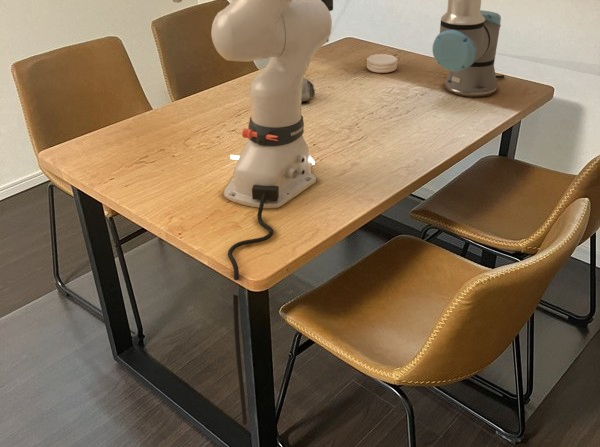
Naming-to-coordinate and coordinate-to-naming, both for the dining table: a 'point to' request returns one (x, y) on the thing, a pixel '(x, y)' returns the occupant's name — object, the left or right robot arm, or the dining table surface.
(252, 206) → the left robot arm
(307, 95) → the rock
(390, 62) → the coaster
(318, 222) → the dining table surface
